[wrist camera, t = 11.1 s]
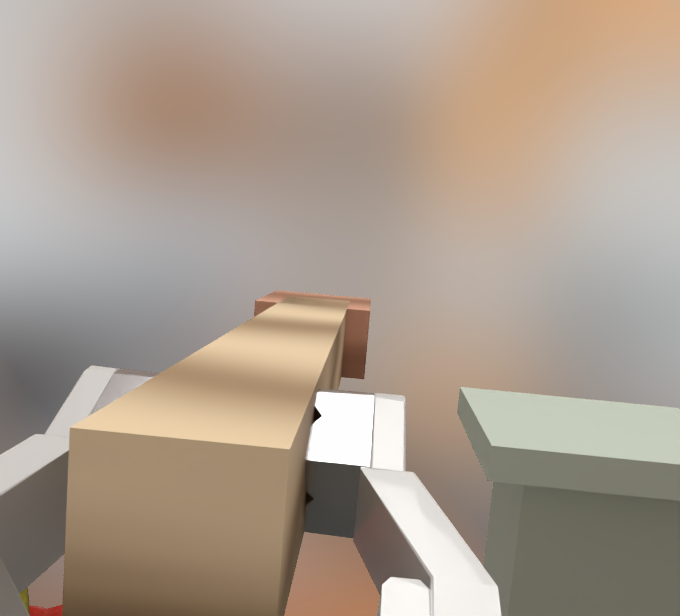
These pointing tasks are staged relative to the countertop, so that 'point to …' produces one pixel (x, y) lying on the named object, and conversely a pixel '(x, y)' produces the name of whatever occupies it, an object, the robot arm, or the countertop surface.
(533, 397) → the shelf stand
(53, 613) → the vegetable
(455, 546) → the robot arm
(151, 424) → the bar
